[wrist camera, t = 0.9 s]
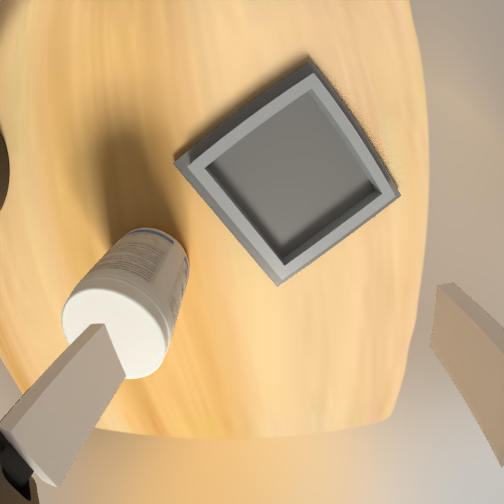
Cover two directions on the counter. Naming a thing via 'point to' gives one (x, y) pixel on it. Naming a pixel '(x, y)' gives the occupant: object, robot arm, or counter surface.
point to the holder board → (290, 173)
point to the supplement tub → (132, 298)
